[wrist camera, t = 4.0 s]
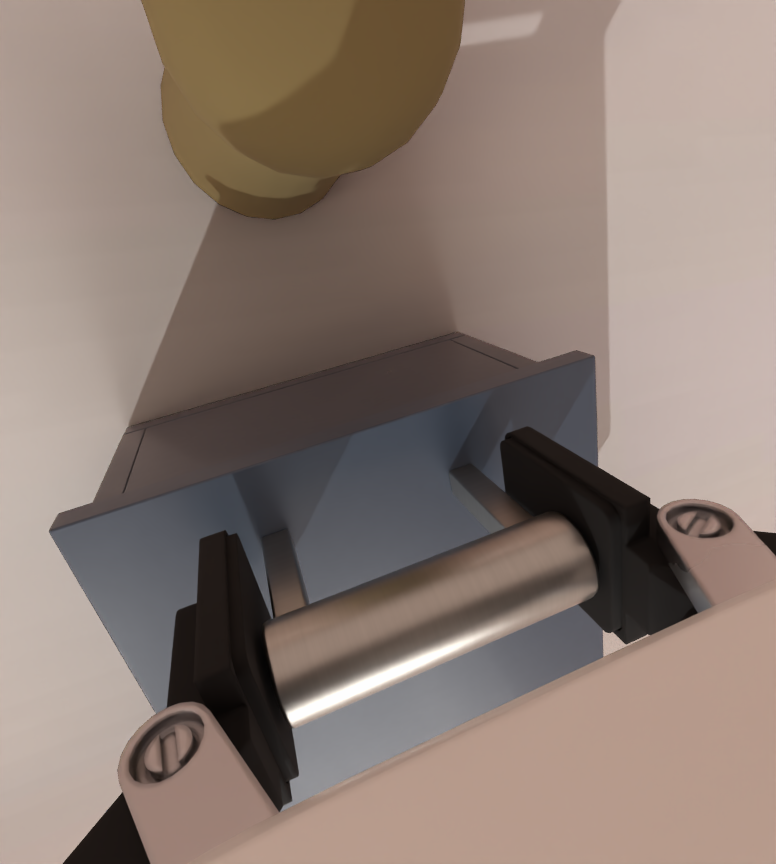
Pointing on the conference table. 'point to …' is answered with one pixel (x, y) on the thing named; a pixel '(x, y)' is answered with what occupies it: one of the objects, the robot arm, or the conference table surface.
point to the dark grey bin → (299, 409)
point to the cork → (296, 90)
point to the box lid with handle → (369, 567)
